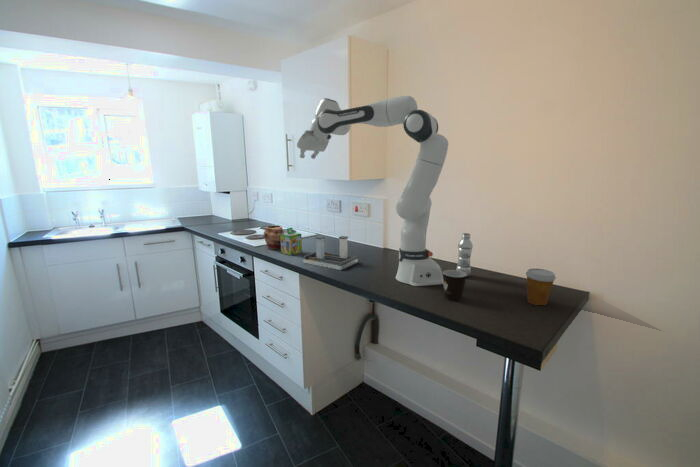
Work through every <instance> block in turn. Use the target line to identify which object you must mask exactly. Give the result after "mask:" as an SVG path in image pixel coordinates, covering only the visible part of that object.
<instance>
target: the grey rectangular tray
mask: <svg viewBox="0 0 700 467" xmlns="http://www.w3.org/2000/svg"><path fill="white" fill-rule="evenodd" d="M302 260H303V263H304V264H308V265H312V266H313V265H314V266H317V265H318V267H322V266H323V268H327V267H328V268H327V269H332V268H333V270H338V271H342V270H344V269H346V268H349V267H351V266H353V265H355V264H357V263H358V261H359V260H358V256H357V255H355V256H349V255H347V259H344V258H340V254H337V253H332V252H325V251H324V259H320V258H316V251H315V252H312V253H309V254H306V255H304V256H303V258H302Z"/></svg>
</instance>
